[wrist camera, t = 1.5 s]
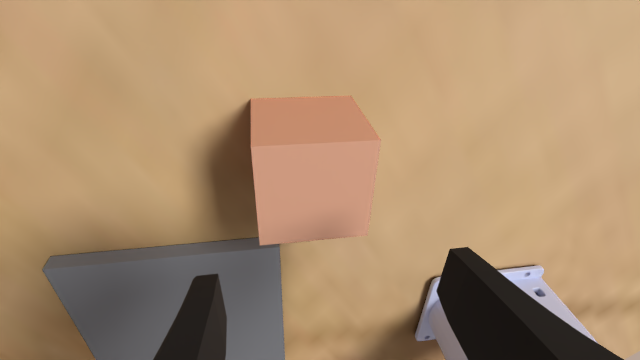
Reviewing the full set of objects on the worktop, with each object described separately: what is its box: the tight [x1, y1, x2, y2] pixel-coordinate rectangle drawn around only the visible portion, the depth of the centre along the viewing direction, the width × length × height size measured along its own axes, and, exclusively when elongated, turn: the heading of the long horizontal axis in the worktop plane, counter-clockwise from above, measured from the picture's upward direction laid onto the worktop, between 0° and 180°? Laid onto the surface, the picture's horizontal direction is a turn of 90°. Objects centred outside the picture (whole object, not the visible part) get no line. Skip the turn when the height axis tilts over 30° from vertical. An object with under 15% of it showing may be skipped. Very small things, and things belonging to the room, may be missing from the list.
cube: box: [251, 96, 381, 245], centre depth 17 cm, size 5×5×5 cm
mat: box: [42, 238, 285, 360], centre depth 24 cm, size 13×13×1 cm
